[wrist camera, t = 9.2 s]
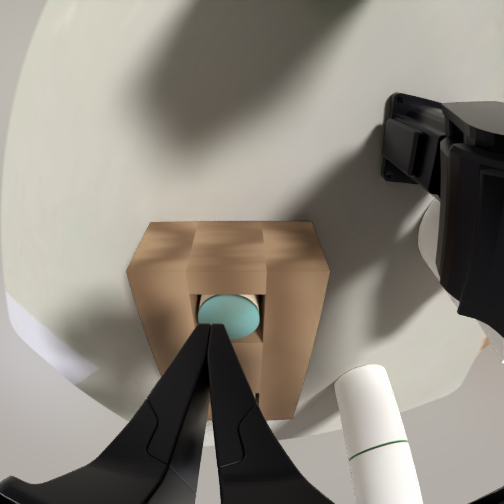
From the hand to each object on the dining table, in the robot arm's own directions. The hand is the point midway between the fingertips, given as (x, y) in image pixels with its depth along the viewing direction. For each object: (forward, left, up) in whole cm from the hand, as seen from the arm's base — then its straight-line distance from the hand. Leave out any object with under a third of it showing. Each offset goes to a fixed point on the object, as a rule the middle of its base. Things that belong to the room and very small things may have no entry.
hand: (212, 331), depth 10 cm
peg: (0, +7, -13) cm, 15 cm away
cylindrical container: (-16, +26, -13) cm, 33 cm away
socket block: (0, +13, -13) cm, 18 cm away
